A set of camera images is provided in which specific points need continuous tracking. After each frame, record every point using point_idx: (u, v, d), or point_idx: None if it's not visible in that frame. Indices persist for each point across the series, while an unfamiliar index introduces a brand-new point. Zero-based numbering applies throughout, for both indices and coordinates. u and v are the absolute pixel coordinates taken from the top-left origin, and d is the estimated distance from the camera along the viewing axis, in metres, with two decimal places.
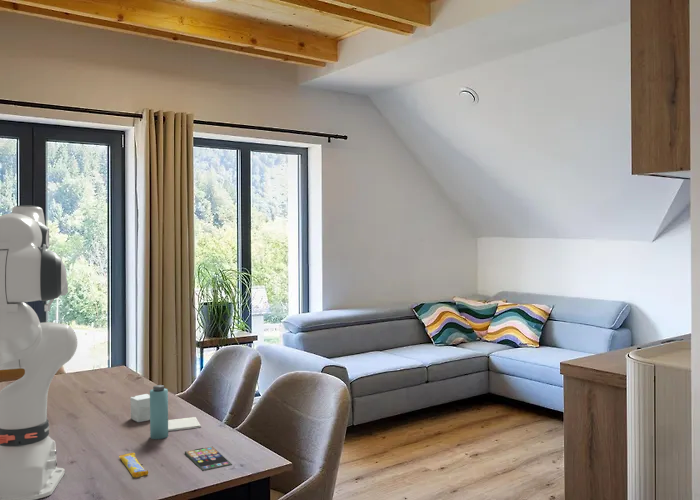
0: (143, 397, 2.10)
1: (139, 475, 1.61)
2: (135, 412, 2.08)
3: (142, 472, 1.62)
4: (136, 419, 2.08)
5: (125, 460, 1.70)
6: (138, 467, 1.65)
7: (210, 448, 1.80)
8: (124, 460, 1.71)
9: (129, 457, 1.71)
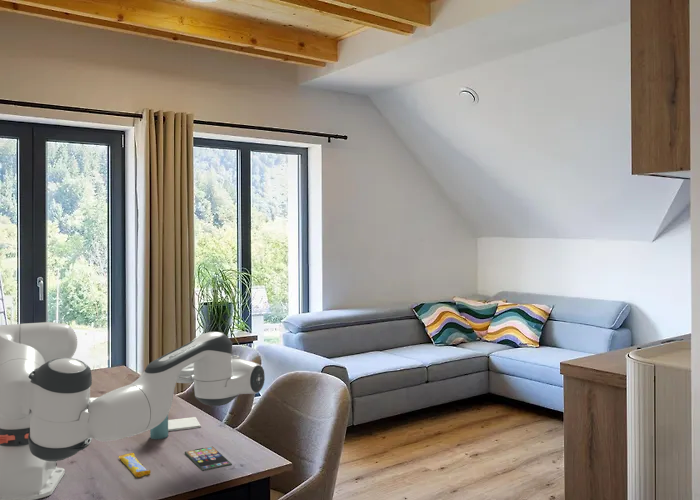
0: None
1: (141, 475, 1.61)
2: None
3: (144, 472, 1.63)
4: None
5: (125, 460, 1.70)
6: (140, 466, 1.65)
7: (210, 448, 1.80)
8: (124, 460, 1.70)
9: (129, 457, 1.71)
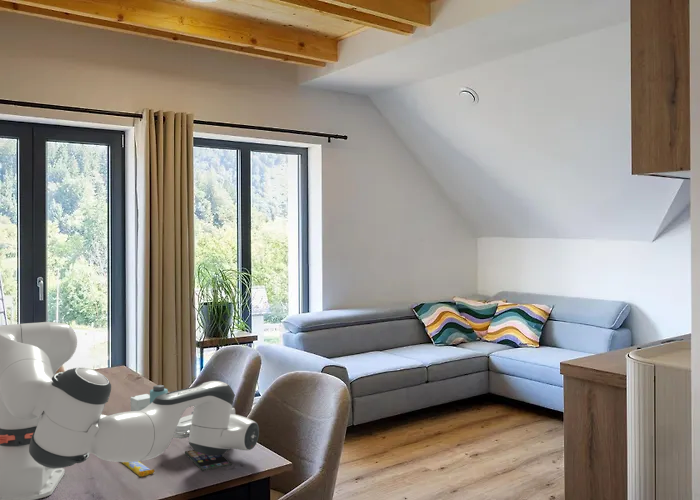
0: (143, 397, 2.10)
1: (146, 474, 1.62)
2: None
3: (148, 471, 1.63)
4: None
5: None
6: (142, 466, 1.65)
7: None
8: None
9: None
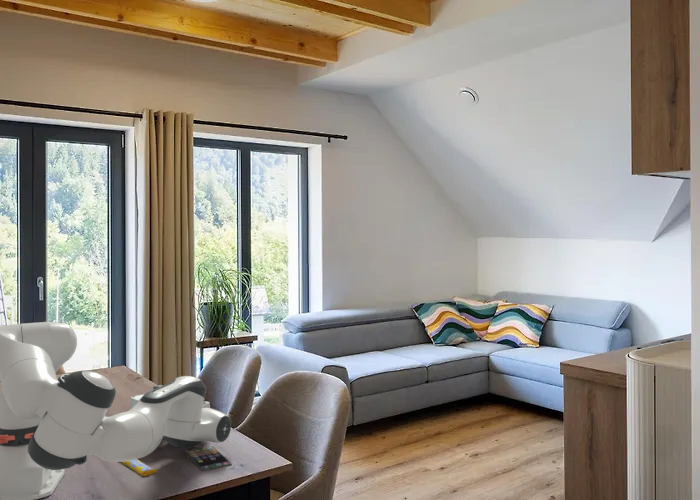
0: None
1: (148, 473, 1.62)
2: None
3: (150, 470, 1.63)
4: None
5: (126, 461, 1.70)
6: (144, 465, 1.66)
7: (210, 448, 1.80)
8: (125, 461, 1.70)
9: None
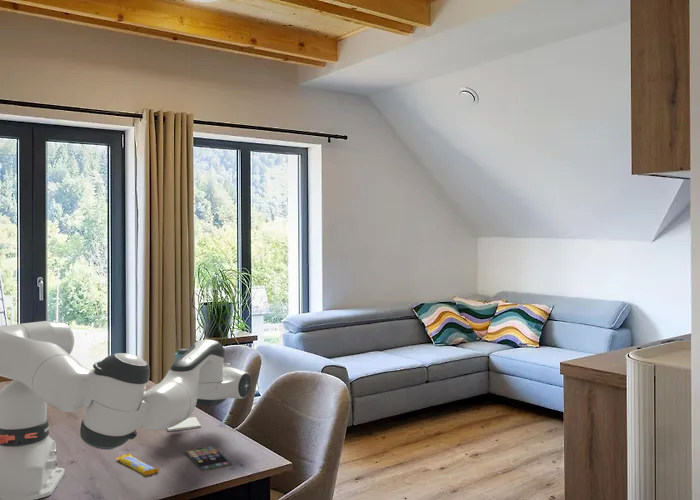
0: None
1: (151, 473, 1.63)
2: None
3: (153, 470, 1.64)
4: None
5: (126, 461, 1.70)
6: (146, 465, 1.66)
7: (211, 448, 1.80)
8: (125, 461, 1.70)
9: (129, 458, 1.71)
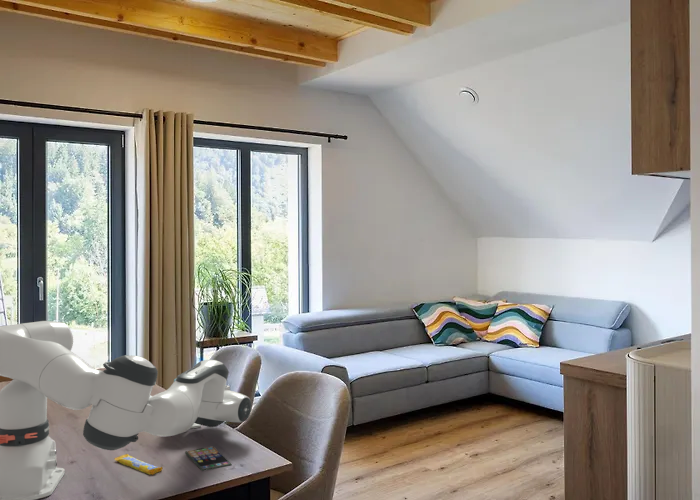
0: None
1: (155, 472, 1.63)
2: None
3: (156, 469, 1.65)
4: None
5: (127, 461, 1.69)
6: (149, 464, 1.66)
7: (211, 448, 1.80)
8: (125, 461, 1.70)
9: (129, 458, 1.71)
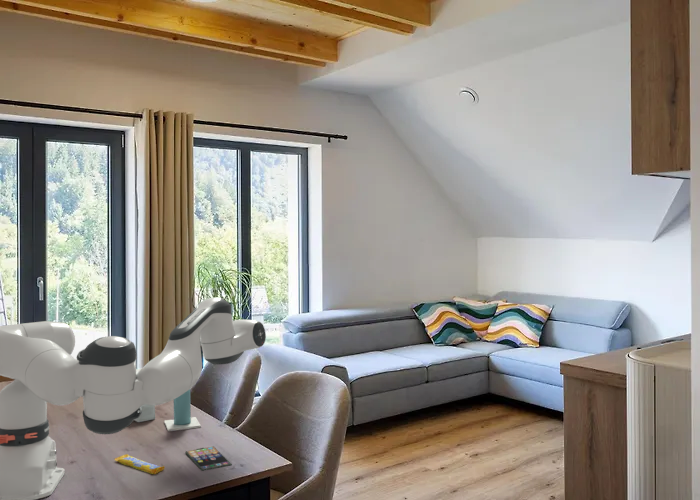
0: None
1: (157, 471, 1.64)
2: None
3: (159, 468, 1.65)
4: (136, 419, 2.08)
5: (127, 461, 1.69)
6: (150, 464, 1.67)
7: (211, 448, 1.80)
8: (126, 461, 1.70)
9: (130, 458, 1.71)
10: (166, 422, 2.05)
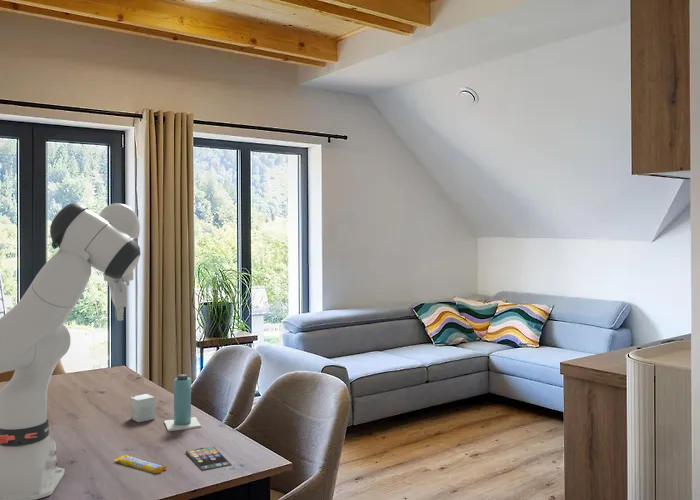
0: (143, 397, 2.10)
1: (160, 470, 1.64)
2: (135, 412, 2.08)
3: (161, 467, 1.66)
4: (136, 419, 2.08)
5: (128, 461, 1.69)
6: (152, 463, 1.67)
7: (211, 448, 1.80)
8: (126, 461, 1.69)
9: (130, 458, 1.71)
10: (166, 422, 2.05)
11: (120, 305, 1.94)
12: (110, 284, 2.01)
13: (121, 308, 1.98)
